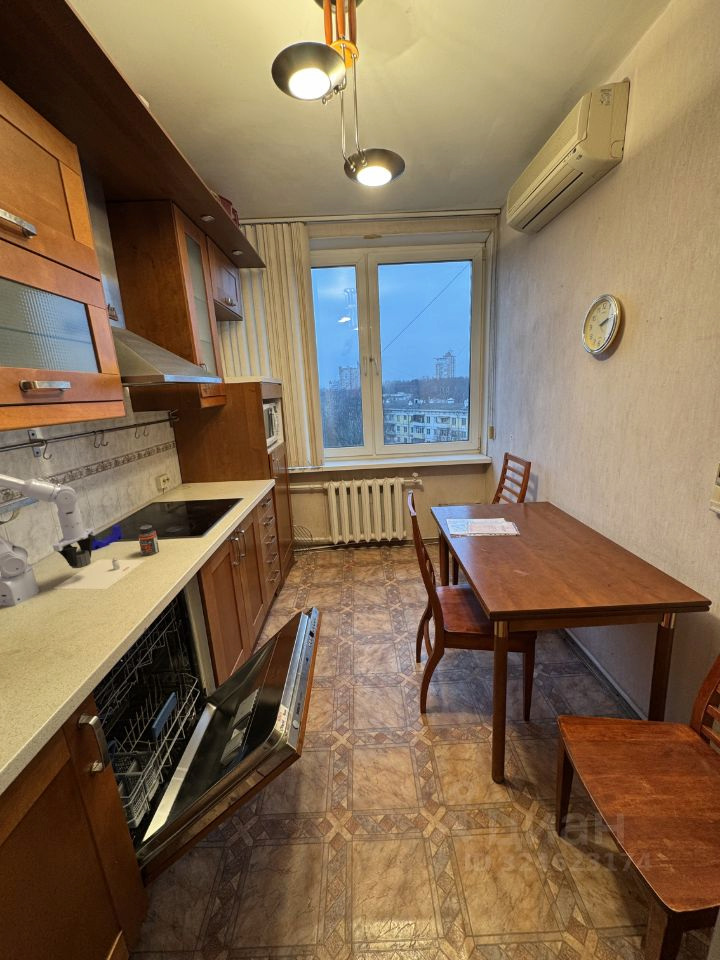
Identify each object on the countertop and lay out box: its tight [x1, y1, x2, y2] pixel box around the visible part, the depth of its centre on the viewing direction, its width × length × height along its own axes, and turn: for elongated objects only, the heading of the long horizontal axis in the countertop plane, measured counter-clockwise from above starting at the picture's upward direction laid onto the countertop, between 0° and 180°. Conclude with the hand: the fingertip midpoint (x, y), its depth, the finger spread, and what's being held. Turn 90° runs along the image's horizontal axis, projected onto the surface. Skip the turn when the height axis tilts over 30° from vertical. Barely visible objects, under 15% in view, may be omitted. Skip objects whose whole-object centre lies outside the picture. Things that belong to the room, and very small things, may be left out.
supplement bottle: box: [138, 525, 160, 557], centre depth 143 cm, size 6×6×11 cm
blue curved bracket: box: [90, 524, 124, 551], centre depth 155 cm, size 12×4×6 cm, turn 150°
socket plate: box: [53, 557, 146, 590], centre depth 129 cm, size 20×18×5 cm
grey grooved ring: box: [70, 549, 92, 569], centre depth 125 cm, size 5×5×4 cm
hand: (80, 561), depth 125 cm, fingers closed on grey grooved ring, 5 cm apart
